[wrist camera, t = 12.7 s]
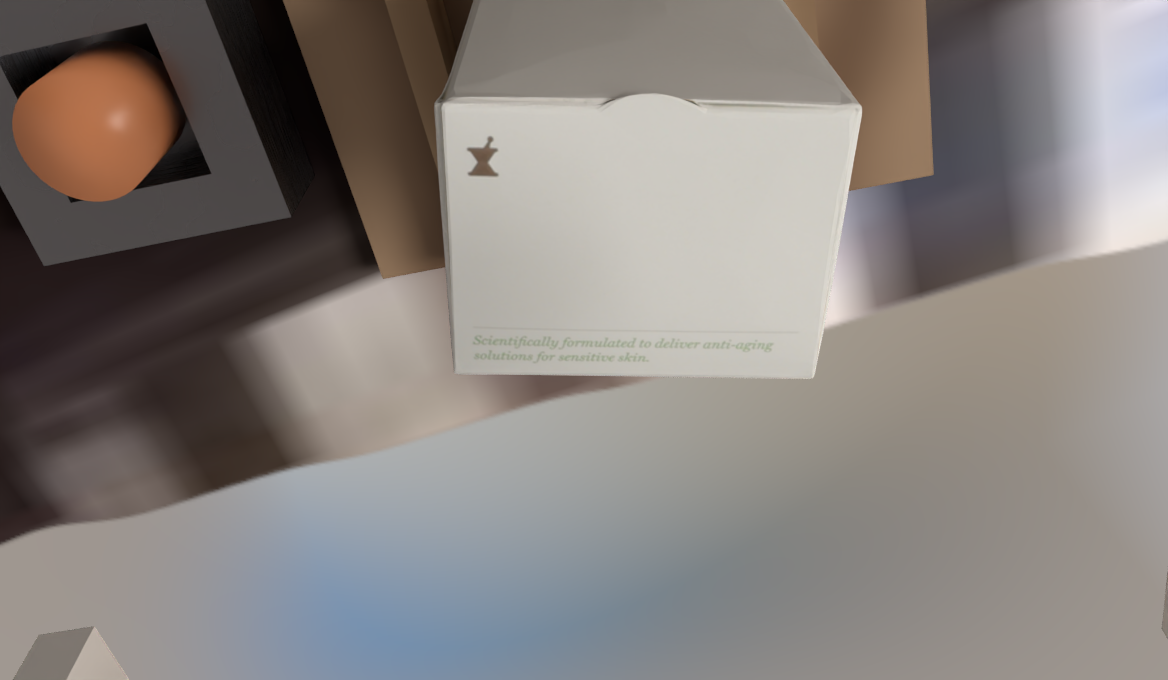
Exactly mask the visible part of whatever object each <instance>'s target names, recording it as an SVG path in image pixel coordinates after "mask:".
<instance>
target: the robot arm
mask: <svg viewBox="0 0 1168 680" xmlns="http://www.w3.org/2000/svg"><path fill="white" fill-rule="evenodd" d="M1162 630H1163V632H1164V633H1165V635H1166V637H1167V638H1168V574H1167V583H1166V594H1165V603H1164V613H1163V622H1162ZM13 680H129V679H128V677H127V675H126V674H125V672H124V671H123V669H122V668H121V666H120V665H119V663H118V662H117V660H116V659H115V657H114V656H113V654H112V652H111V651H110V649H109V648H108V646H107V645H106V643H105V642H104V640H103V639H102V637H101V636H100V634H99V633H98V631H97V630H96V628H95V627H94V626H93V627H87V628H80V629H74V630H68V631H61V632H54V633H48V634H41V635H39V636H38V637H37V639H36V641H35V643H34V644H33V646H32V648H31V650H30V651H29V653H28V655H27V656H26V658H25V660H24V661H23V663H22V665H21V667H20V668H19V670H18V672H17V674H16V675H15V677H14V679H13Z"/></svg>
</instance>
